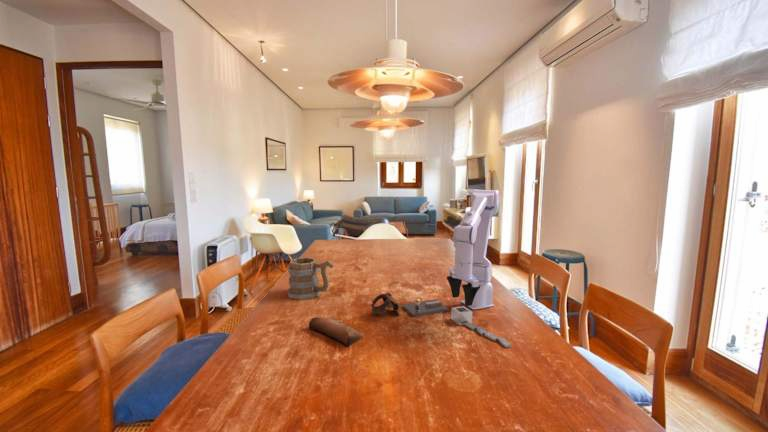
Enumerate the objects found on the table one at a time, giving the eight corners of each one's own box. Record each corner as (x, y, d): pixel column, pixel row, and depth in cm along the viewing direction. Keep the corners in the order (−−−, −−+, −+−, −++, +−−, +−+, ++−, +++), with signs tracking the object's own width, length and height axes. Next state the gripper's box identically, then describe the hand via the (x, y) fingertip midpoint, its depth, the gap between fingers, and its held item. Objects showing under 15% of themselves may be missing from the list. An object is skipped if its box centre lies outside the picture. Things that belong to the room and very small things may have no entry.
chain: (469, 323, 109) (469, 321, 109) (513, 345, 95) (514, 342, 95) (462, 326, 107) (462, 323, 107) (506, 348, 94) (506, 346, 93)
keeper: (435, 301, 127) (435, 292, 127) (447, 311, 119) (448, 300, 118) (402, 306, 122) (402, 296, 122) (412, 316, 114) (413, 305, 113)
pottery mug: (402, 321, 111) (391, 303, 109) (377, 330, 114) (366, 313, 111) (402, 299, 123) (392, 282, 120) (380, 308, 125) (370, 292, 122)
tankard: (281, 296, 132) (280, 260, 130) (300, 286, 143) (299, 253, 141) (324, 304, 124) (323, 265, 122) (340, 293, 136) (340, 257, 134)
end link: (463, 316, 114) (463, 305, 114) (471, 323, 109) (472, 311, 109) (450, 319, 112) (451, 307, 112) (459, 325, 108) (459, 313, 107)
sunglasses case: (367, 335, 100) (359, 322, 97) (353, 355, 96) (345, 341, 93) (328, 319, 112) (320, 306, 108) (314, 335, 107) (305, 322, 104)
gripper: (441, 257, 114) (440, 294, 115) (466, 268, 100) (464, 311, 102) (459, 255, 116) (457, 292, 118) (485, 266, 103) (483, 308, 104)
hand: (461, 301), depth 110 cm, fingers open, 7 cm apart
